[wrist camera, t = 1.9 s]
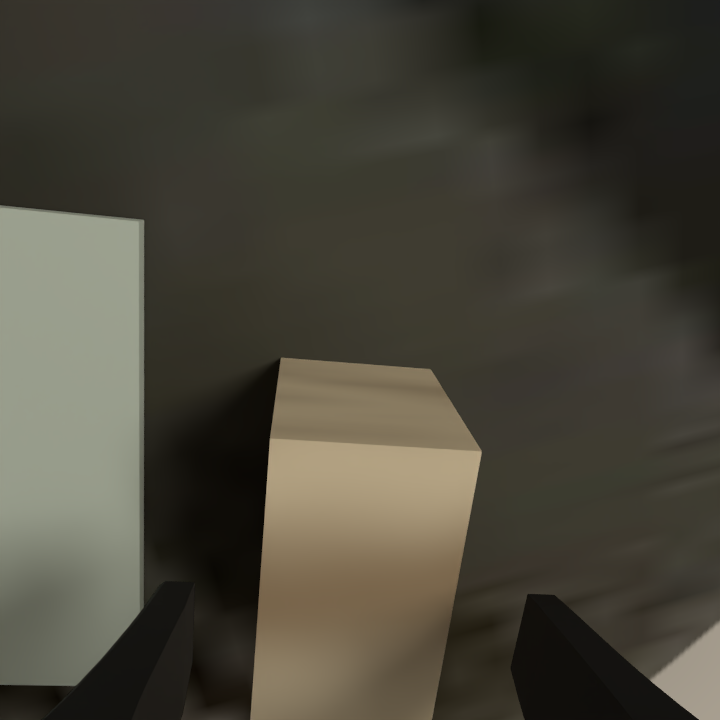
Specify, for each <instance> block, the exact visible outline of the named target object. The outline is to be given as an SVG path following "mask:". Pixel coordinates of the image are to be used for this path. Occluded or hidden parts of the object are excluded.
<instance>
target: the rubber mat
mask: <svg viewBox="0 0 720 720" xmlns="http://www.w3.org/2000/svg"><path fill="white" fill-rule="evenodd" d="M143 608H144V220H140V219H130V218H120V217H110V216H100V215H90V214H80V213H70V212H60V211H50V210H40V209H30V208H21V207H11V206H1V205H0V685H51V686H76V685H77V684H78V683H79V682H80V681H81V680H82V679H83V678H84V677H85V676H86V675H87V674H88V672H89V671H90V670H91V669H92V668H93V667H94V666H95V665H96V664H97V663H98V662H99V661H100V660H101V658H102V657H103V656H104V655H105V654H106V653H107V652H108V650H109V649H110V648H111V647H112V646H113V645H114V643H115V642H116V641H117V640H118V639H119V637H120V636H121V635H122V634H123V633H124V632H125V630H126V629H127V628H128V627H129V625H130V624H131V623H132V622H133V620H134V619H135V618H136V617H137V615H138V614H139V613H140V612H141V610H142V609H143Z"/></svg>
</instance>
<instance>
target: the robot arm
mask: <svg viewBox="0 0 720 720" xmlns="http://www.w3.org/2000/svg"><path fill="white" fill-rule="evenodd" d="M194 597H195V582H172V581H165V582H163V583H162V584H161V585H160V586H159V587H158V588H157V590H156V591H155V593H154V594H153V595H152V597H151V598H150V600H149V601H148V602H147V604H146V605H145V606H144V608H143V609H142V610H141V612H140V613H139V614H138V615H137V617H136V618H135V619H134V620H133V622H132V623H131V624H130V625H129V627H128V628H127V629H126V630H125V632H124V633H123V634H122V635H121V636H120V637H119V639H118V640H117V641H116V642H115V643H114V645H113V646H112V647H111V648H110V649H109V650H108V652H107V653H106V654H105V655H104V656H103V657H102V658H101V660H100V661H99V662H98V663H97V664H96V665H95V666H94V667H93V668H92V669H91V670H90V671H89V672H88V674H87V675H86V676H85V677H84V678H83V679H82V680H81V681H80V682H79V683H78V684H77V685H76V686H75V687H74V688H73V689H72V690H71V692H70V693H69V694H68V695H67V696H66V697H65V698H64V699H63V700H62V701H60V702H59V703H58V704H57V705H56V706H55V707H54V708H53V709H52V710H51V711H50V712H49V713H48V714H47V715H46V716H45V717H44V718H43V719H42V720H181V717H182V713H183V709H184V704H185V699H186V694H187V689H188V683H189V678H190V672H191V667H192V662H193V631H194ZM511 671H512V675H513V679H514V683H515V687H516V691H517V695H518V698H519V702H520V705H521V709H522V712H523V716H524V718H525V720H699V719H697V718H696V717H695V716H693V715H692V714H691V713H690V712H688V711H687V710H686V709H684V708H683V707H682V706H680V705H679V704H678V703H677V702H676V701H674V700H673V699H672V698H671V697H669V696H668V695H667V694H666V693H664V692H663V691H662V690H661V689H660V688H658V687H657V686H656V685H655V684H653V683H652V682H651V681H650V680H649V679H648V678H646V677H645V676H644V675H643V674H642V673H640V672H639V671H638V670H637V669H636V668H635V667H634V666H632V665H631V664H630V663H629V662H628V661H627V660H626V659H624V658H623V657H622V656H621V655H620V654H619V653H618V652H617V651H616V650H614V649H613V648H612V647H611V646H610V645H609V644H608V643H607V642H606V641H605V640H603V639H602V638H601V637H600V636H599V635H598V634H597V633H596V632H595V631H594V630H593V629H591V628H590V627H589V626H588V625H587V624H586V623H585V622H584V621H583V620H582V619H581V618H580V617H578V616H577V615H576V614H575V613H574V612H573V611H572V610H571V609H570V608H569V607H567V606H566V605H565V604H564V603H563V602H562V601H561V600H559V599H558V598H557V597H556V596H555V595H540V594H528V595H527V599H526V604H525V608H524V612H523V617H522V621H521V625H520V629H519V634H518V638H517V642H516V647H515V651H514V655H513V660H512V664H511Z"/></svg>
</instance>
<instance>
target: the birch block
mask: <svg viewBox="0 0 720 720" xmlns="http://www.w3.org/2000/svg"><path fill="white" fill-rule="evenodd" d="M481 453H482V451H481V449H480V448H479V446H478V445H477V443H476V441H475V440H474V438H473V437H472V435H471V433H470V432H469V430H468V429H467V427H466V425H465V424H464V422H463V421H462V419H461V417H460V416H459V414H458V412H457V411H456V409H455V408H454V406H453V404H452V403H451V401H450V400H449V398H448V396H447V395H446V393H445V392H444V390H443V388H442V387H441V385H440V384H439V382H438V380H437V379H436V377H435V376H434V374H433V372H432V371H431V369H420V368H407V367H394V366H381V365H368V364H355V363H342V362H329V361H317V360H304V359H291V358H281V361H280V368H279V376H278V383H277V391H276V398H275V405H274V413H273V420H272V427H271V435H270V446H269V460H268V474H267V489H266V503H265V517H264V532H263V546H262V561H261V575H260V589H259V604H258V618H257V633H256V647H255V661H254V676H253V690H252V704H251V719H250V720H432V716H433V710H434V705H435V700H436V694H437V689H438V684H439V678H440V673H441V668H442V662H443V657H444V651H445V646H446V641H447V635H448V630H449V625H450V619H451V614H452V609H453V603H454V598H455V593H456V587H457V582H458V576H459V571H460V566H461V560H462V555H463V550H464V544H465V539H466V534H467V528H468V523H469V518H470V512H471V507H472V501H473V496H474V491H475V485H476V480H477V475H478V469H479V464H480V459H481Z"/></svg>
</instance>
